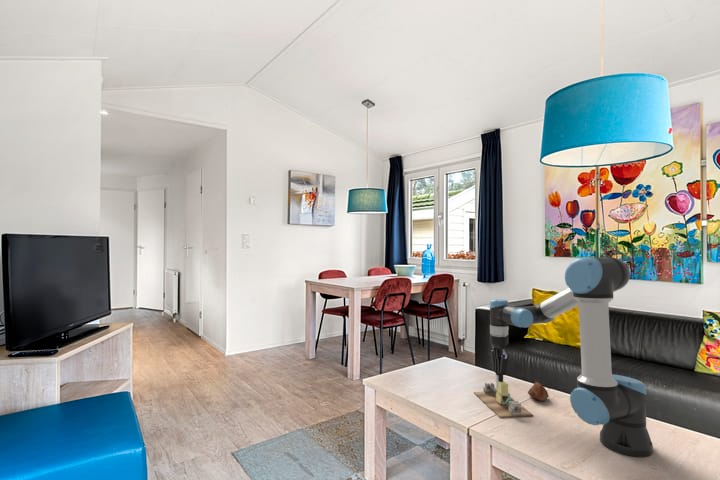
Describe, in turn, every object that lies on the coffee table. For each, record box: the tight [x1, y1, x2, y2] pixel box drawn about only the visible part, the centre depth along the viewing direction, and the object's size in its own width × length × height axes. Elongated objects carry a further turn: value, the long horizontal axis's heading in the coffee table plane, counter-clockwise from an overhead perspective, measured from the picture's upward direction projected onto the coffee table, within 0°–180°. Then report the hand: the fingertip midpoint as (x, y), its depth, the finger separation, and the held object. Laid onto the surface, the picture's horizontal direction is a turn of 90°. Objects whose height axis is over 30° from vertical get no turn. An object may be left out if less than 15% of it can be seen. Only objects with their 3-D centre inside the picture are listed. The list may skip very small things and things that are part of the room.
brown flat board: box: [473, 382, 534, 419], centre depth 170 cm, size 26×14×5 cm, turn 6°
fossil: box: [527, 381, 550, 402], centre depth 177 cm, size 13×8×10 cm
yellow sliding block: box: [496, 381, 511, 404], centre depth 169 cm, size 4×4×8 cm
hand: (499, 389), depth 172 cm, fingers closed
